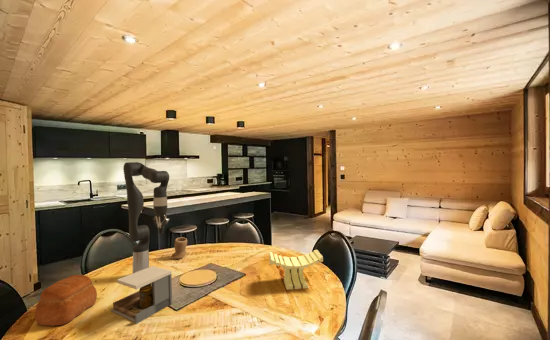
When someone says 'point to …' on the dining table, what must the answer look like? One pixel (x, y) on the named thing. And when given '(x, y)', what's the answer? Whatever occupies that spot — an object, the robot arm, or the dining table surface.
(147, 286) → the condiment
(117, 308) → the tray
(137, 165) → the robot arm
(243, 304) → the dining table surface
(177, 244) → the brown boot
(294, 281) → the slatted curved stool
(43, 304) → the bread
